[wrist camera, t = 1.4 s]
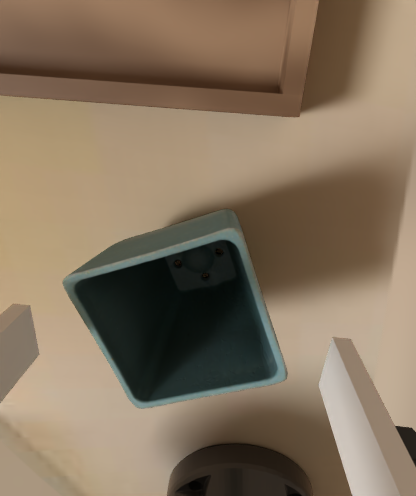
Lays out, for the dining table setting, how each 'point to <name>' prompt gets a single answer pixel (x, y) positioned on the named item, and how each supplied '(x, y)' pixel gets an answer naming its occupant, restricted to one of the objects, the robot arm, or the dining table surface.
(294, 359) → the dining table surface
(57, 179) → the dining table surface
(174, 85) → the holder tray
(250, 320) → the flower pot
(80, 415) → the dining table surface
